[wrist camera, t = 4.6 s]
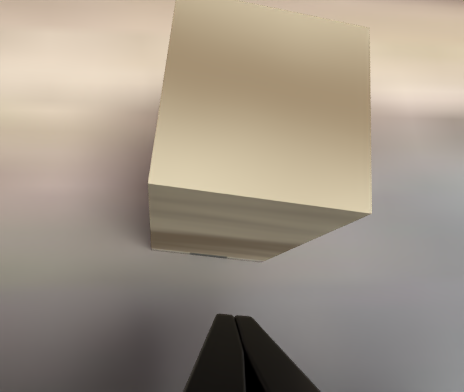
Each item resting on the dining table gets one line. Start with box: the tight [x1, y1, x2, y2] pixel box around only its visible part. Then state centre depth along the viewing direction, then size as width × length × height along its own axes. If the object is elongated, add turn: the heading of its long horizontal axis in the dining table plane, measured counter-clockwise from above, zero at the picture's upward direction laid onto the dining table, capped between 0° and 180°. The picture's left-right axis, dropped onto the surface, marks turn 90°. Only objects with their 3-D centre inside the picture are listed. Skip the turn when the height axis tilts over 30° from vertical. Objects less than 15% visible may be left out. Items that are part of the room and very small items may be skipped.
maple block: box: [148, 0, 372, 262], centre depth 13 cm, size 4×4×9 cm
